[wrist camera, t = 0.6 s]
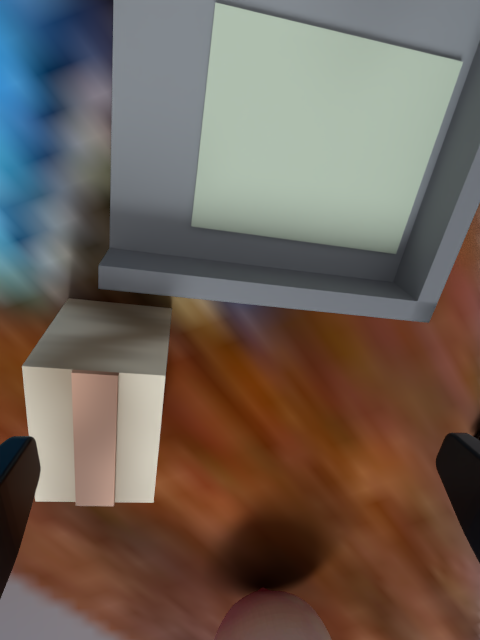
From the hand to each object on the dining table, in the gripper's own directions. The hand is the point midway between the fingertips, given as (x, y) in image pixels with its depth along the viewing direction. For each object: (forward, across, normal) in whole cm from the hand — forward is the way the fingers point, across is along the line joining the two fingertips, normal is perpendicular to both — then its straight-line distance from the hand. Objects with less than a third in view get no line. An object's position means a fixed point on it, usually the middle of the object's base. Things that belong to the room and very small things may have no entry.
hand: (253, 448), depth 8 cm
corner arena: (+12, -3, -8) cm, 15 cm away
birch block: (+12, +5, +6) cm, 14 cm away
